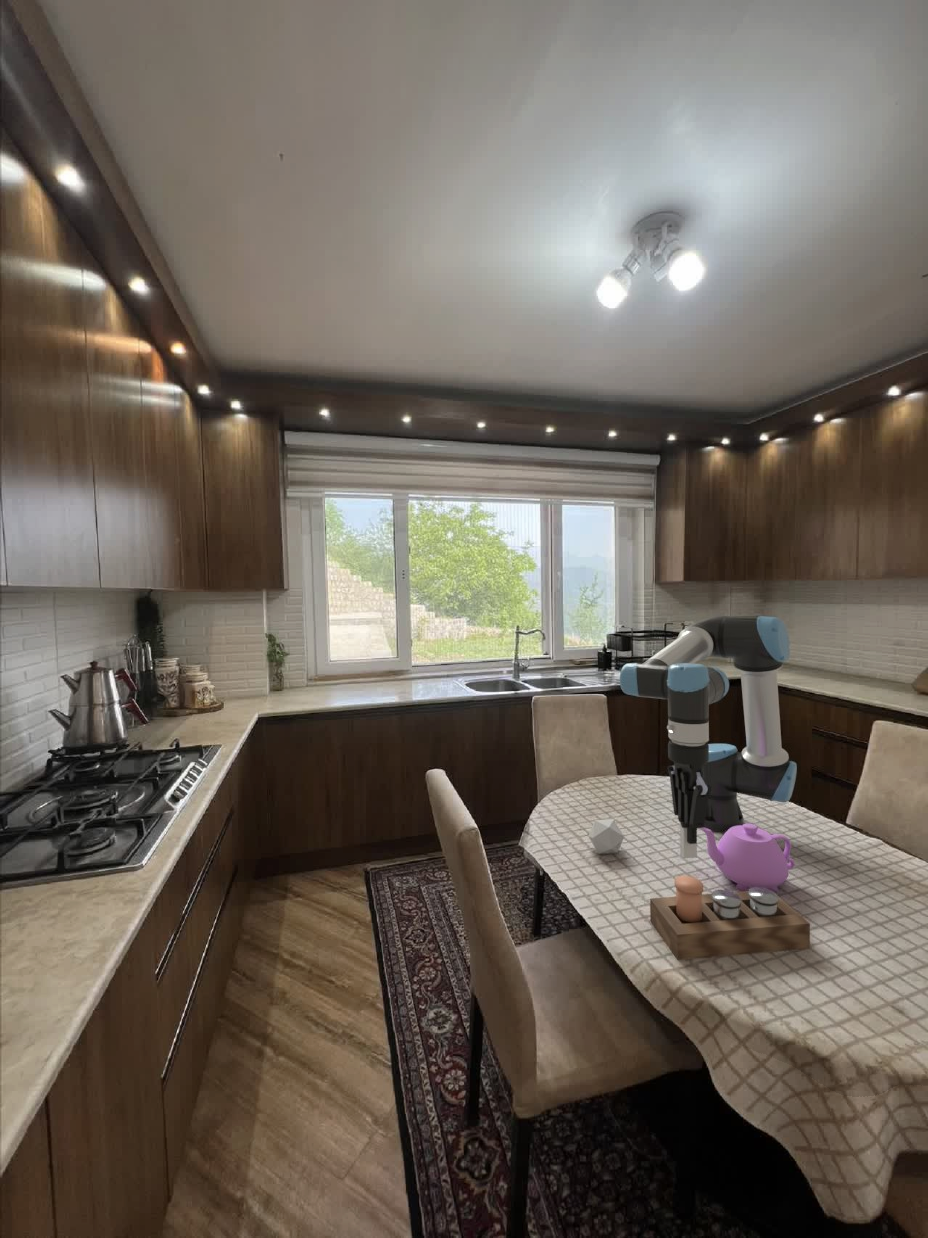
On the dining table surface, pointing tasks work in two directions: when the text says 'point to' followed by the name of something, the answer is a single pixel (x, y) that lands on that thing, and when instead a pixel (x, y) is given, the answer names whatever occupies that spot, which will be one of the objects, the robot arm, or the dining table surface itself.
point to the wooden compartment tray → (728, 930)
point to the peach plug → (689, 898)
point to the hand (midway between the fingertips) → (688, 856)
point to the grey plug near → (763, 901)
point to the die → (606, 836)
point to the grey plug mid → (726, 905)
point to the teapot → (751, 857)
